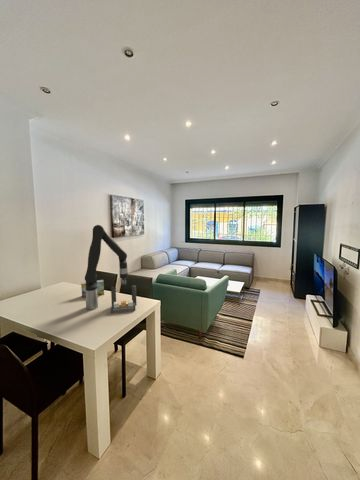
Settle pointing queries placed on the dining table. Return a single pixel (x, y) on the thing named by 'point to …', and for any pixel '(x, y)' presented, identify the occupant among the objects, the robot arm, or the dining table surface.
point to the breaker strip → (123, 308)
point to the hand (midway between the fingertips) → (124, 290)
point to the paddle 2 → (130, 303)
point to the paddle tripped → (123, 303)
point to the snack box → (99, 288)
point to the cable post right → (134, 294)
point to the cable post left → (113, 295)
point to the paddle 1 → (116, 304)
